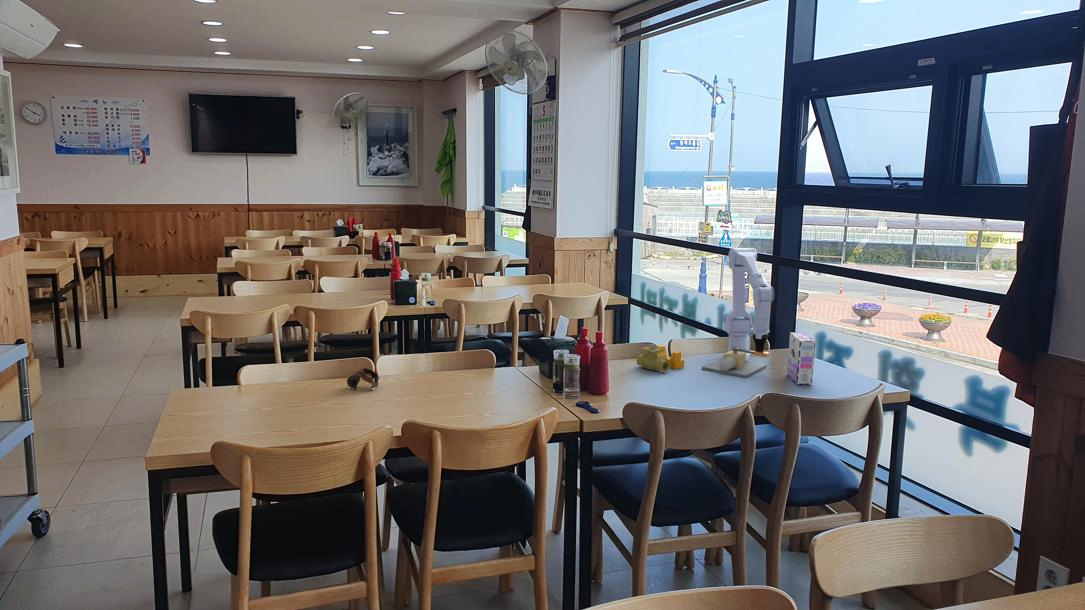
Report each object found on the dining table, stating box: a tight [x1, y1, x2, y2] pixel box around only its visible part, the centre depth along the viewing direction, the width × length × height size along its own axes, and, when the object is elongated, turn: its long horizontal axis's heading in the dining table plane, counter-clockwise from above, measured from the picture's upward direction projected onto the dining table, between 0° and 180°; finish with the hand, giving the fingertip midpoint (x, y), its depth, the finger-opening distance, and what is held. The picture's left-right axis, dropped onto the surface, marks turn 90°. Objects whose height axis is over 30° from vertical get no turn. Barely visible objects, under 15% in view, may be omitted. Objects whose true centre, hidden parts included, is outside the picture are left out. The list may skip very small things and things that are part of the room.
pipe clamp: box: [656, 344, 685, 370], centre depth 318 cm, size 12×4×6 cm, turn 27°
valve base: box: [701, 350, 767, 379], centre depth 314 cm, size 19×18×7 cm
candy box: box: [786, 332, 817, 386], centre depth 299 cm, size 14×6×16 cm, turn 178°
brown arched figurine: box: [346, 367, 380, 390], centre depth 281 cm, size 12×10×8 cm
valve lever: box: [732, 347, 770, 358], centre depth 310 cm, size 14×3×1 cm, turn 53°
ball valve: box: [636, 343, 671, 373], centre depth 311 cm, size 13×10×10 cm
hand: (759, 353), depth 310 cm, fingers closed
